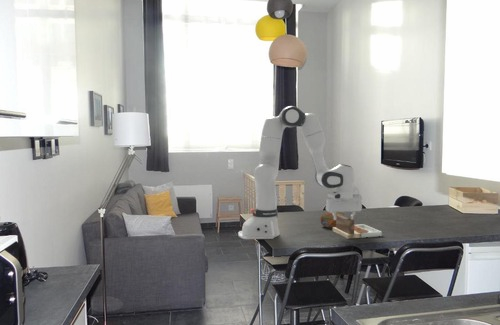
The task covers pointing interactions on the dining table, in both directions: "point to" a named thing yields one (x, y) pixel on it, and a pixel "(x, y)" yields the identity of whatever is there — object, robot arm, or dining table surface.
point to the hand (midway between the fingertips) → (343, 219)
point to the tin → (329, 219)
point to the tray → (371, 230)
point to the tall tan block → (345, 224)
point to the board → (346, 235)
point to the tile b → (361, 230)
